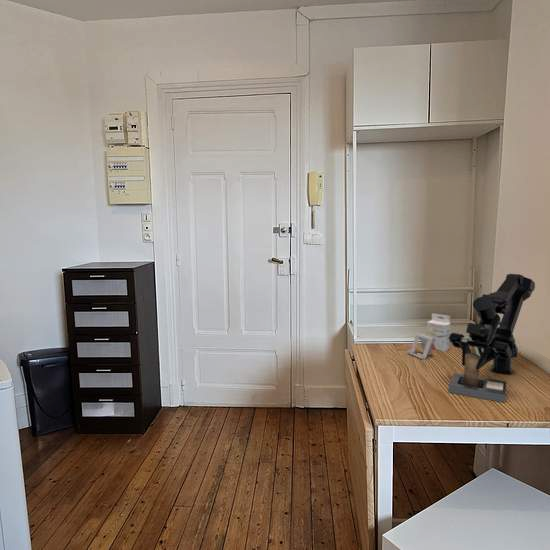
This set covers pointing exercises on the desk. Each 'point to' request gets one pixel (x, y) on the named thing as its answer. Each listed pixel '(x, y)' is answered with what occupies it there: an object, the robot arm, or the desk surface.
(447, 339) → the ink cartridge box
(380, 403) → the desk surface
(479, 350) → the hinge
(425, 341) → the portable electronic device stand
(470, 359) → the walnut peg
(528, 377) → the desk surface
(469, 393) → the hole plate
